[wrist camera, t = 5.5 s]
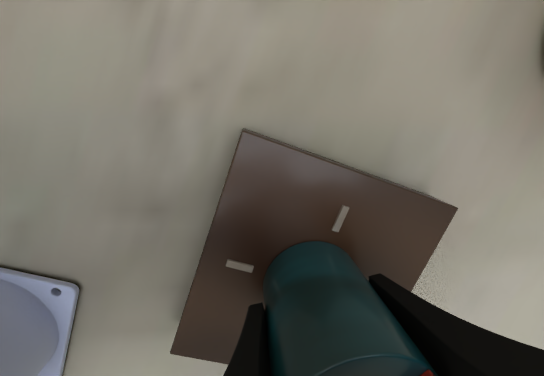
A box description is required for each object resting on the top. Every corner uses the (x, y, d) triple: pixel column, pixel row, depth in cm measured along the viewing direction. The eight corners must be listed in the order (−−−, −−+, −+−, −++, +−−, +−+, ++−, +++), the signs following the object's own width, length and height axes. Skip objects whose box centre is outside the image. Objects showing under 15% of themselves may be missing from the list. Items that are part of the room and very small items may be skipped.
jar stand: (344, 357, 18) (357, 390, 16) (179, 323, 16) (168, 356, 14) (430, 195, 15) (461, 209, 13) (242, 127, 13) (242, 130, 11)
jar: (305, 338, 15) (352, 515, 8) (242, 285, 13) (238, 448, 7) (375, 282, 14) (485, 424, 8) (316, 221, 13) (390, 331, 6)
